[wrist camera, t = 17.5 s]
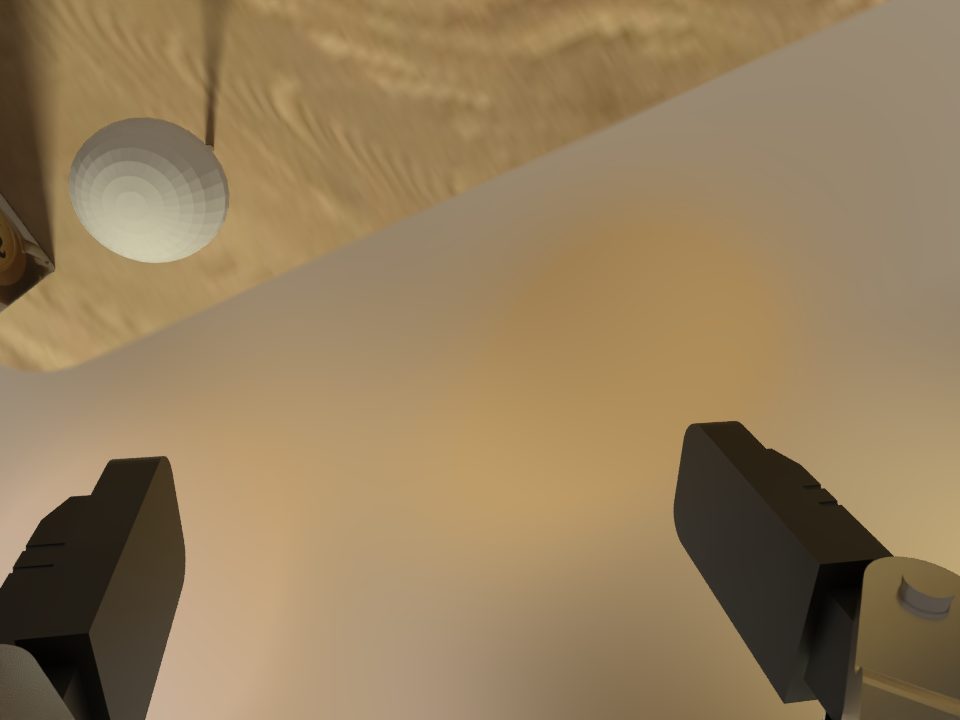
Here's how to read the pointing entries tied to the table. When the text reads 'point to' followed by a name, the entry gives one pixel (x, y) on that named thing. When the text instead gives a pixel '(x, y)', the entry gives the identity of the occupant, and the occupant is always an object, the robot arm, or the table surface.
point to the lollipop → (149, 190)
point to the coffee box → (18, 258)
